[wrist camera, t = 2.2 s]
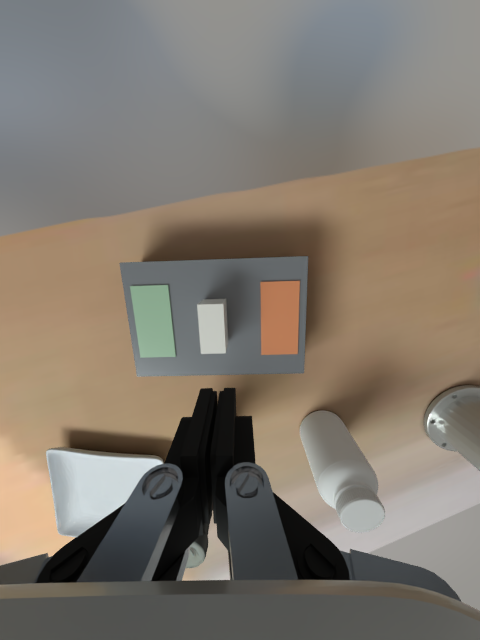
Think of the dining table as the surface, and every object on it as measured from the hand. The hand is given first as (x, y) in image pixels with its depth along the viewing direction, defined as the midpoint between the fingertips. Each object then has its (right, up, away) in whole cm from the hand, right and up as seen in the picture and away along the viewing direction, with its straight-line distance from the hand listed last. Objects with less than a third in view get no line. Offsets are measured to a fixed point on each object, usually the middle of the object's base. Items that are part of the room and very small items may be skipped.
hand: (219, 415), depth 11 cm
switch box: (-2, +6, +26) cm, 26 cm away
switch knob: (-2, +4, +20) cm, 20 cm away
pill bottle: (+16, -15, +31) cm, 37 cm away
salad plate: (-24, -29, +35) cm, 51 cm away
